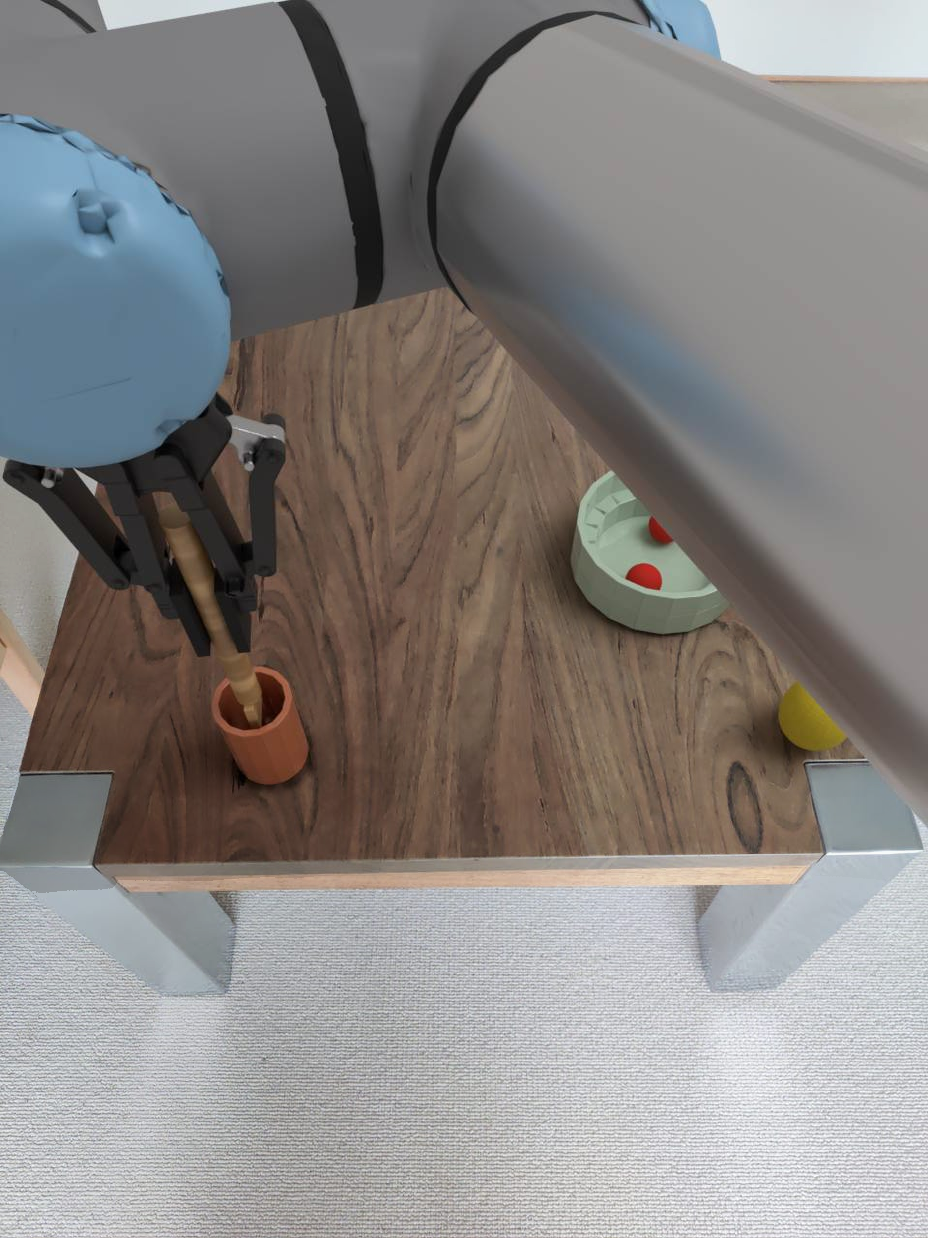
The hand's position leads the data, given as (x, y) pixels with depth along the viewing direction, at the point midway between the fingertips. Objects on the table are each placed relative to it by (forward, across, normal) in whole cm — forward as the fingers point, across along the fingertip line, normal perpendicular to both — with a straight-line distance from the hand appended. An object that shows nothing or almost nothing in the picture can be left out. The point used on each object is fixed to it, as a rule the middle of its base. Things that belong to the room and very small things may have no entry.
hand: (225, 636), depth 55 cm
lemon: (+18, -42, +3) cm, 46 cm away
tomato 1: (+16, -32, -12) cm, 38 cm away
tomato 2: (+16, -36, -18) cm, 43 cm away
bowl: (+18, -34, -15) cm, 42 cm away
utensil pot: (+18, 0, 0) cm, 18 cm away
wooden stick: (+10, 0, 0) cm, 10 cm away
